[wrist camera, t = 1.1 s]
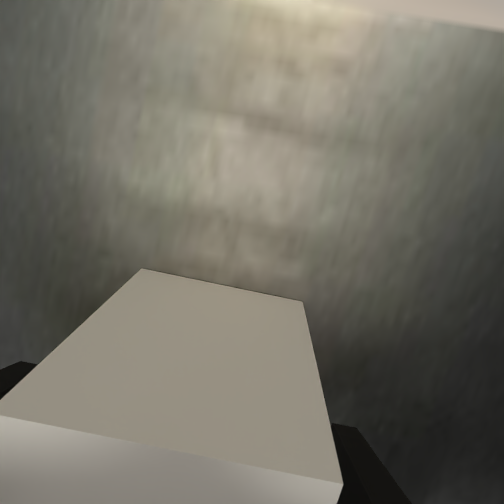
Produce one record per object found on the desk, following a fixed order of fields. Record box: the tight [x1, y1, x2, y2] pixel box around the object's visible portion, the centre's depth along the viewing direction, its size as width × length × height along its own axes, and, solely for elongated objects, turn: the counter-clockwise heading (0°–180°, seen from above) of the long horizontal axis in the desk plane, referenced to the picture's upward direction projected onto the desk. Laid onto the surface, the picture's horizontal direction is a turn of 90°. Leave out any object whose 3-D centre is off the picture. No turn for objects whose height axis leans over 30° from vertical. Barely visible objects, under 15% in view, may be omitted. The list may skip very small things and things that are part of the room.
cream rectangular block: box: [0, 268, 343, 504], centre depth 9 cm, size 5×5×7 cm
